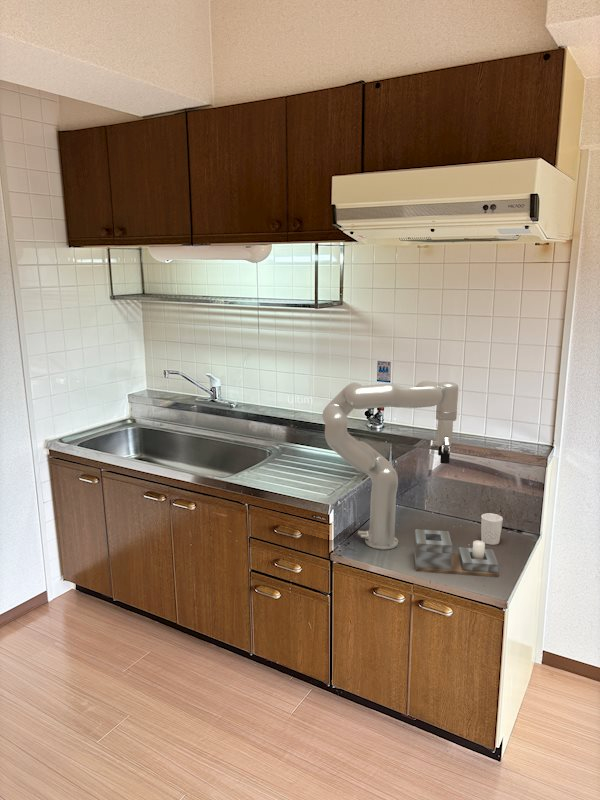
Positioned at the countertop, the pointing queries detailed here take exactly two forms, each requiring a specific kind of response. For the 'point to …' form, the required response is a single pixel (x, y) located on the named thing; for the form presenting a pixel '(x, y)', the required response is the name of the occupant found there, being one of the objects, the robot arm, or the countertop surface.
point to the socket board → (450, 556)
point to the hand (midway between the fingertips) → (443, 459)
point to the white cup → (491, 528)
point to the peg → (478, 550)
